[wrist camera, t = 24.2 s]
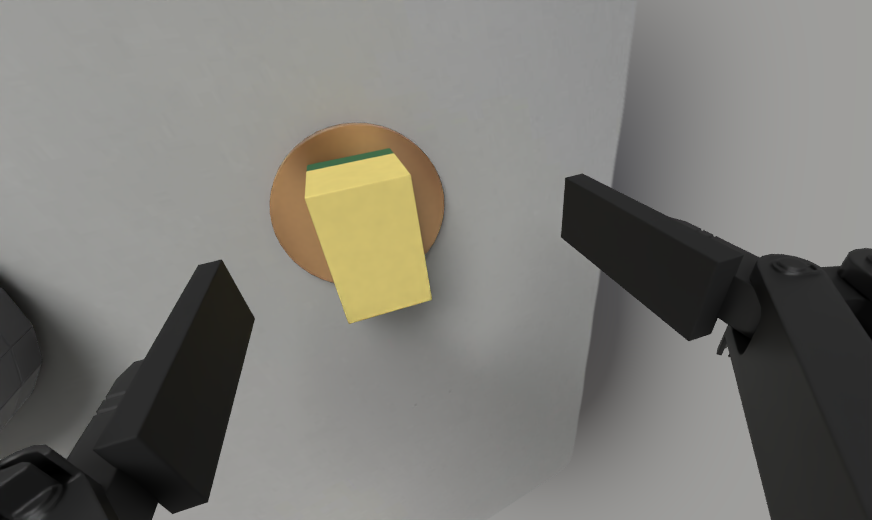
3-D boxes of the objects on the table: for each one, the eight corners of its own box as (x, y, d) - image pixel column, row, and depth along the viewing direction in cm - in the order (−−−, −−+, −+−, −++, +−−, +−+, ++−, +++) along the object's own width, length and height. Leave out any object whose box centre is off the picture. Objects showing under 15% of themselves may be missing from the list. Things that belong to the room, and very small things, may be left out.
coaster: (365, 79, 18) (367, 80, 17) (470, 211, 23) (473, 215, 23) (228, 209, 19) (226, 213, 18) (359, 305, 24) (360, 311, 24)
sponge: (306, 164, 18) (304, 197, 14) (390, 147, 19) (411, 174, 15) (342, 273, 22) (348, 324, 18) (411, 255, 23) (432, 300, 19)
